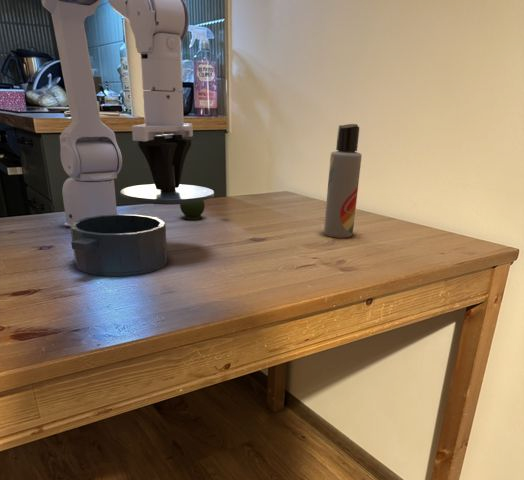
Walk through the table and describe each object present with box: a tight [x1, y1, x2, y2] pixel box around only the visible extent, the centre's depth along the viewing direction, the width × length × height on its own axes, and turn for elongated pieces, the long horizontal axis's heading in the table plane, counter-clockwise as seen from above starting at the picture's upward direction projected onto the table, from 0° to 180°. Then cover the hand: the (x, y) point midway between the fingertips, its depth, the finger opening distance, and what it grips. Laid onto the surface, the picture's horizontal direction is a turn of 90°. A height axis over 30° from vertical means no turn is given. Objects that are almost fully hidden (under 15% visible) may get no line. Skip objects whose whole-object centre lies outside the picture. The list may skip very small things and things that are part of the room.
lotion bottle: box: [323, 123, 363, 239], centre depth 94 cm, size 6×6×20 cm
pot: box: [69, 213, 168, 277], centre depth 76 cm, size 14×19×6 cm
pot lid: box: [119, 164, 215, 206], centre depth 78 cm, size 15×15×5 cm
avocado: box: [179, 184, 206, 221], centre depth 106 cm, size 5×5×7 cm
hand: (167, 188), depth 79 cm, fingers closed on pot lid, 2 cm apart
